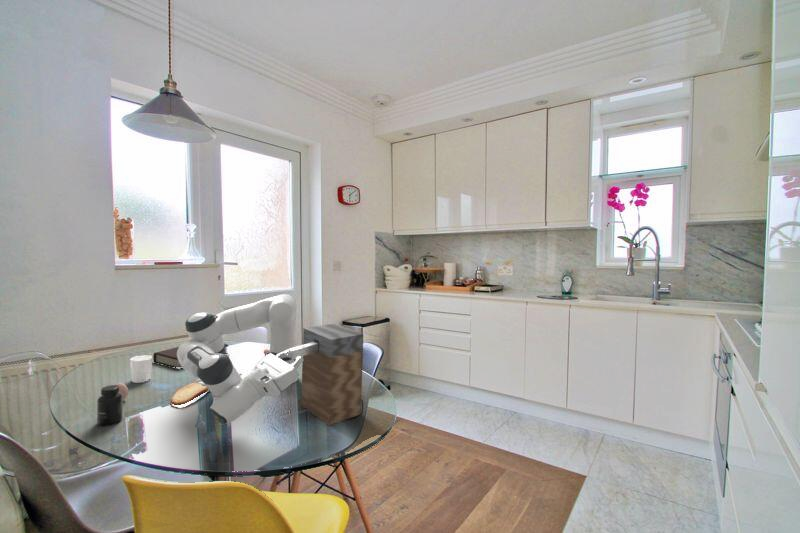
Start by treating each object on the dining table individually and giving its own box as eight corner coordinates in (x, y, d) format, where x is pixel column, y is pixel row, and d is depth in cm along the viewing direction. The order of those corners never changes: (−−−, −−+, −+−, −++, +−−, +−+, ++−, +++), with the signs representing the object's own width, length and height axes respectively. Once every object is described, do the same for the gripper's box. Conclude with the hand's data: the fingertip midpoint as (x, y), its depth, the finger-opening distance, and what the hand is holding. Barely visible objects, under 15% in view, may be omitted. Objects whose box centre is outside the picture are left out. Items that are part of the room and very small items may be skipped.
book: (203, 349, 207) (203, 339, 207) (227, 355, 199) (228, 344, 199) (153, 363, 182) (153, 351, 181) (178, 370, 174) (178, 358, 173)
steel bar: (292, 359, 125) (291, 351, 125) (288, 357, 127) (287, 349, 127) (335, 345, 137) (335, 338, 136) (331, 344, 139) (330, 336, 139)
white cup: (155, 379, 161) (155, 357, 160) (135, 385, 154) (135, 362, 154) (147, 375, 165) (147, 354, 165) (127, 380, 159) (126, 358, 158)
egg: (108, 405, 135) (108, 386, 135) (113, 399, 140) (113, 381, 140) (125, 403, 137) (125, 384, 137) (129, 397, 142) (129, 379, 142)
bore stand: (328, 425, 127) (331, 339, 125) (301, 405, 142) (303, 328, 140) (360, 414, 137) (363, 334, 135) (332, 396, 151) (334, 323, 149)
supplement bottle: (94, 428, 119) (94, 392, 118) (100, 419, 125) (99, 385, 125) (120, 424, 122) (120, 389, 122) (124, 415, 128) (124, 382, 128)
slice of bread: (175, 411, 134) (175, 401, 134) (162, 395, 146) (162, 386, 146) (225, 397, 147) (225, 388, 147) (209, 384, 159) (209, 376, 159)
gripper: (254, 379, 128) (286, 353, 136) (279, 398, 113) (313, 369, 121) (245, 365, 126) (278, 340, 133) (269, 384, 111) (305, 355, 118)
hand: (295, 354), depth 127 cm, fingers open, 8 cm apart
